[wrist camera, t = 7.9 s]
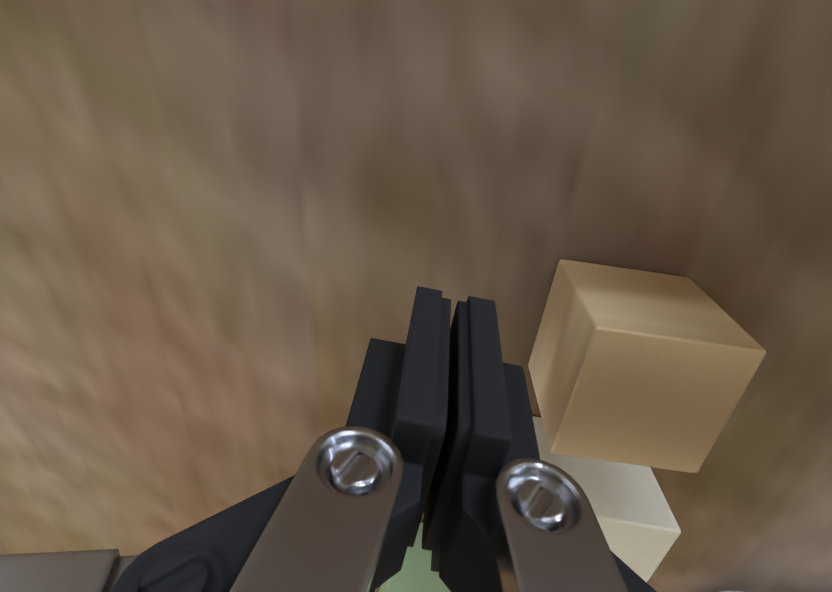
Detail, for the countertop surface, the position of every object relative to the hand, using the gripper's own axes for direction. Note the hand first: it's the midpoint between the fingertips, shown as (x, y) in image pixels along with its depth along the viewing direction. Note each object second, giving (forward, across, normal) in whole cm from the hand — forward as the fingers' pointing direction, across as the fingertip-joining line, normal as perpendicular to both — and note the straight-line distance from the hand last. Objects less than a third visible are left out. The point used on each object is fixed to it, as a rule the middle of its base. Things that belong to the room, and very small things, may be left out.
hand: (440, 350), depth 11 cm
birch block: (+5, -6, +2) cm, 8 cm away
